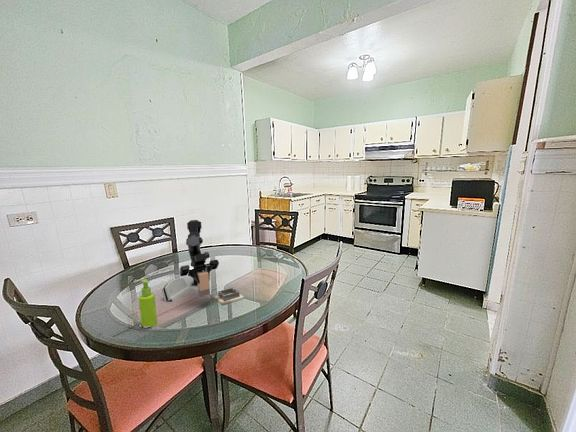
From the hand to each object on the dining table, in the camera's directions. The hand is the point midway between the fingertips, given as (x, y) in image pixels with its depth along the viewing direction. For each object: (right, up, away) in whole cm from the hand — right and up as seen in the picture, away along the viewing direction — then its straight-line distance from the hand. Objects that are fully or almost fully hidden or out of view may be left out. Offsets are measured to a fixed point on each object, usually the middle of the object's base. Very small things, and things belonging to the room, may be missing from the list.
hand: (204, 282), depth 123 cm
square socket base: (+10, -11, +10) cm, 18 cm away
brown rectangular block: (-1, -7, +2) cm, 7 cm away
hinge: (-21, -12, +16) cm, 29 cm away
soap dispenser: (-19, -15, -14) cm, 28 cm away
